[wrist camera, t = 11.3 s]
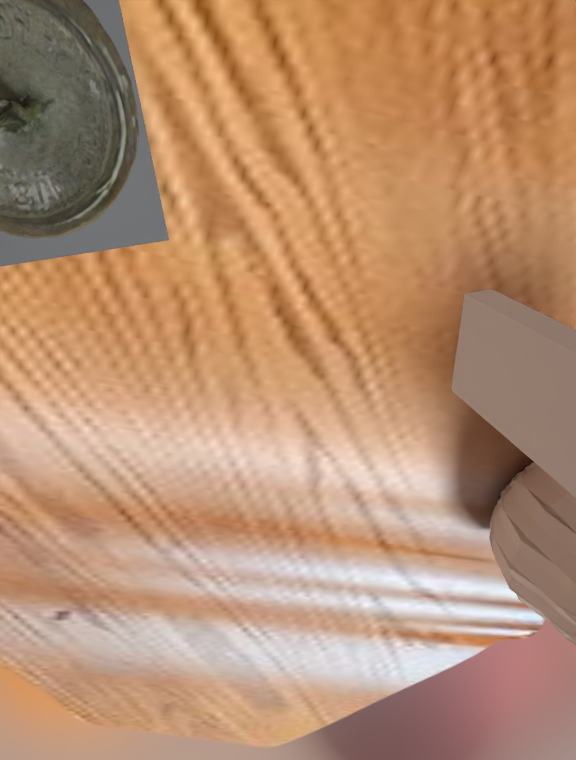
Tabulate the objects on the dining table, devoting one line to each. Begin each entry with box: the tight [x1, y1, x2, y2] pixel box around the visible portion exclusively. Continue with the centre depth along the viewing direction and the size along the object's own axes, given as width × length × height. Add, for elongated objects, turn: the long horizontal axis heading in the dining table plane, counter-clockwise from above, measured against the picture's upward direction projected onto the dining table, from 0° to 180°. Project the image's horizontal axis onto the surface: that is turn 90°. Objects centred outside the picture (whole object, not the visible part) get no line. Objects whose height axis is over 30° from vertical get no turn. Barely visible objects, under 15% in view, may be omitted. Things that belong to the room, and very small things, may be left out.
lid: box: [0, 0, 139, 239], centre depth 20 cm, size 11×10×5 cm
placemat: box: [0, 0, 169, 266], centre depth 27 cm, size 14×13×1 cm
